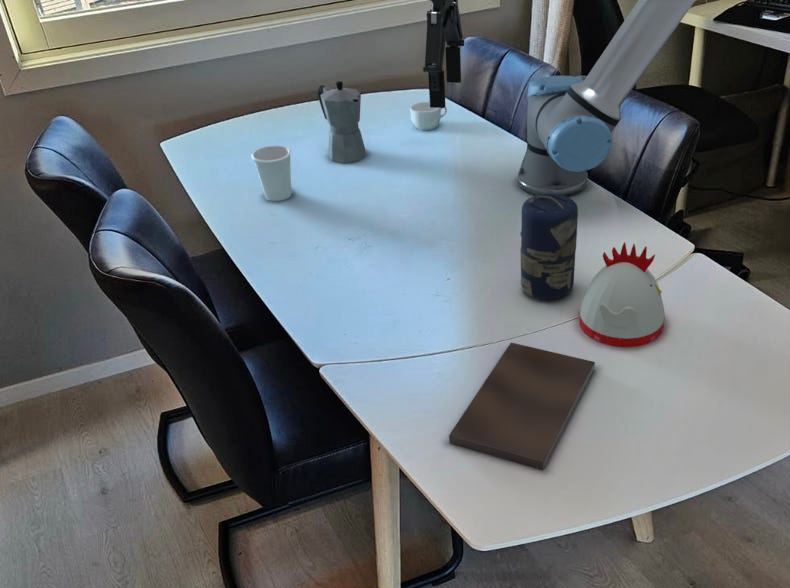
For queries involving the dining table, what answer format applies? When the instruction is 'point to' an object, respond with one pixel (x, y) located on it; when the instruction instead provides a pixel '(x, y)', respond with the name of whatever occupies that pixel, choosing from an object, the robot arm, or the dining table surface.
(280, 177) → the dixie cup
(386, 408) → the dining table surface
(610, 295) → the kitchen timer
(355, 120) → the coffeepot
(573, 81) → the robot arm
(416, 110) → the teacup
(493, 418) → the serving board
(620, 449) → the dining table surface
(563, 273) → the canister
